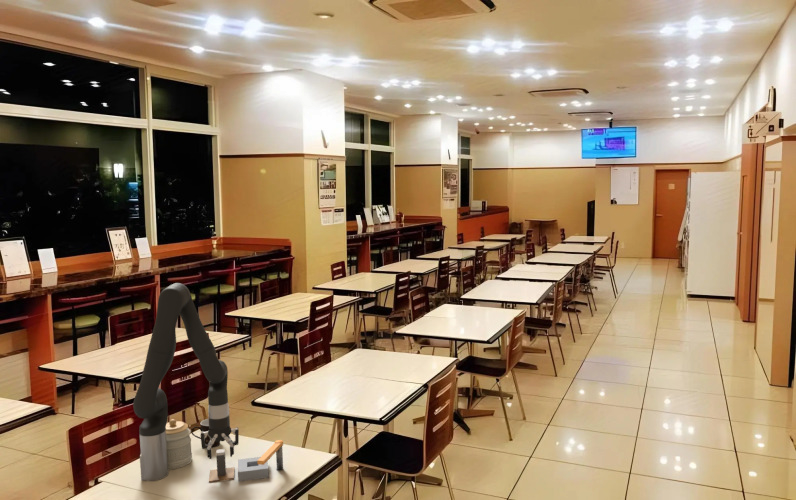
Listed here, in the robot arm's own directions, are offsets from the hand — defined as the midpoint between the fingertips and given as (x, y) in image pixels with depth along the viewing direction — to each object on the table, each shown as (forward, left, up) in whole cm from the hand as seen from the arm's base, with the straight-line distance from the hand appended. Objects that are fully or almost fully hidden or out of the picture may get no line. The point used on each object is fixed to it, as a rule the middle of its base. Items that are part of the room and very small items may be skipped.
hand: (221, 456), depth 230 cm
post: (+22, -1, -7) cm, 23 cm away
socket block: (+12, -1, -7) cm, 14 cm away
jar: (-18, +17, -8) cm, 26 cm away
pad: (0, 0, -7) cm, 7 cm away
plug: (0, 0, -7) cm, 7 cm away
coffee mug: (-6, +31, -7) cm, 33 cm away
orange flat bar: (+18, -8, +2) cm, 20 cm away
